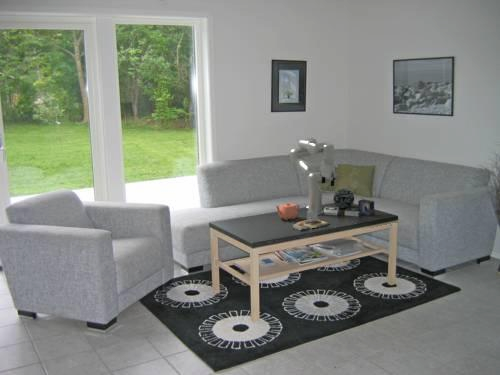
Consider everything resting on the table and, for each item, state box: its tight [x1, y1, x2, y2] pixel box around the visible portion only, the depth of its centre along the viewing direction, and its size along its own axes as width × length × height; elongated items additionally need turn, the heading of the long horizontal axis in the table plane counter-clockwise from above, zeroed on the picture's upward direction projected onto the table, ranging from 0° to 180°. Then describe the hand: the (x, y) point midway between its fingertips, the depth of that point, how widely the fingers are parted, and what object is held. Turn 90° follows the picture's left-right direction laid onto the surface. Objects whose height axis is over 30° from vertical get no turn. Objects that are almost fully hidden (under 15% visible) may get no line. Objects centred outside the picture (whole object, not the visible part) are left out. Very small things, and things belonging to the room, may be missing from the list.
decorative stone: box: [333, 188, 355, 209], centre depth 413 cm, size 16×16×15 cm
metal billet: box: [306, 210, 319, 224], centre depth 372 cm, size 4×6×8 cm
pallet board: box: [295, 219, 330, 230], centre depth 373 cm, size 16×17×2 cm
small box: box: [357, 198, 375, 217], centre depth 393 cm, size 11×6×10 cm, turn 43°
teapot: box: [275, 202, 300, 221], centre depth 388 cm, size 20×12×12 cm, turn 112°
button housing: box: [292, 223, 309, 231], centre depth 364 cm, size 7×7×3 cm
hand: (327, 184), depth 382 cm, fingers open, 9 cm apart
